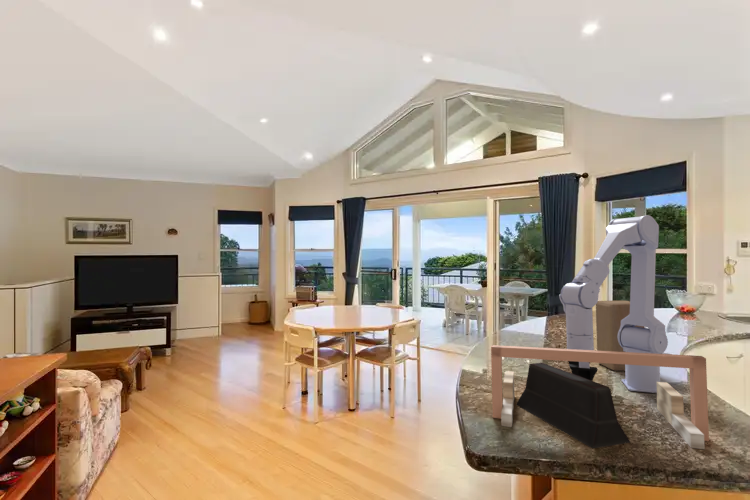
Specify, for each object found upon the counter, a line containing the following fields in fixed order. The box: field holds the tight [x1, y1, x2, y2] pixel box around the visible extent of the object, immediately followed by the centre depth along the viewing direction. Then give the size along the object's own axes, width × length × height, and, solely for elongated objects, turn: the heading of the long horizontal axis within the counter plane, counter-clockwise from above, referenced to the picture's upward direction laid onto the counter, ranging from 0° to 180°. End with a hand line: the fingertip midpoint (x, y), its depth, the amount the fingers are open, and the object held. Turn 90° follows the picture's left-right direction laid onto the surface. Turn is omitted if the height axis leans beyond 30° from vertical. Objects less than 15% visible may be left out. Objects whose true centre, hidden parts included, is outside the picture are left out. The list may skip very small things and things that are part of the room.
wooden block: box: [595, 300, 646, 372], centre depth 128 cm, size 10×10×20 cm
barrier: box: [515, 362, 631, 449], centre depth 86 cm, size 24×9×10 cm, turn 14°
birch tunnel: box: [500, 370, 705, 450], centre depth 88 cm, size 20×34×6 cm, turn 70°
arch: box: [490, 344, 710, 442], centre depth 83 cm, size 2×38×15 cm, turn 70°
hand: (581, 391), depth 98 cm, fingers open, 7 cm apart
